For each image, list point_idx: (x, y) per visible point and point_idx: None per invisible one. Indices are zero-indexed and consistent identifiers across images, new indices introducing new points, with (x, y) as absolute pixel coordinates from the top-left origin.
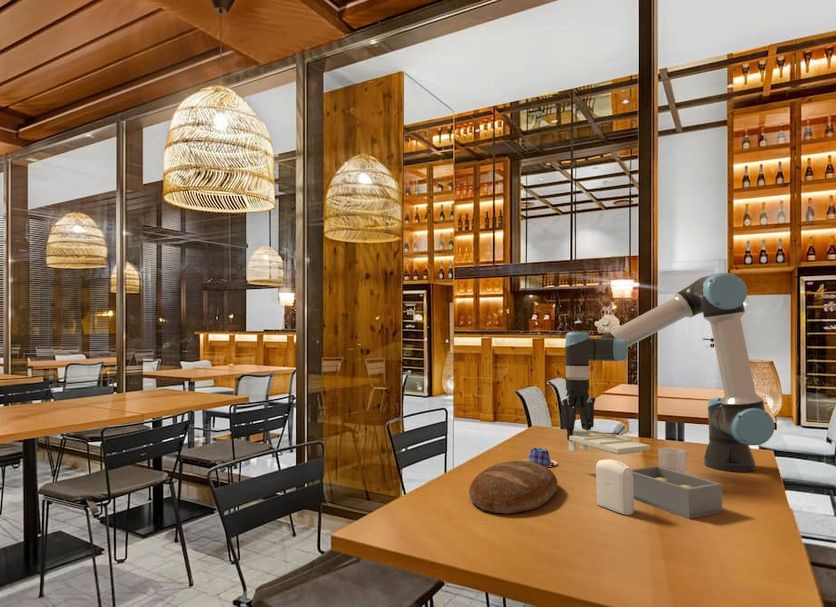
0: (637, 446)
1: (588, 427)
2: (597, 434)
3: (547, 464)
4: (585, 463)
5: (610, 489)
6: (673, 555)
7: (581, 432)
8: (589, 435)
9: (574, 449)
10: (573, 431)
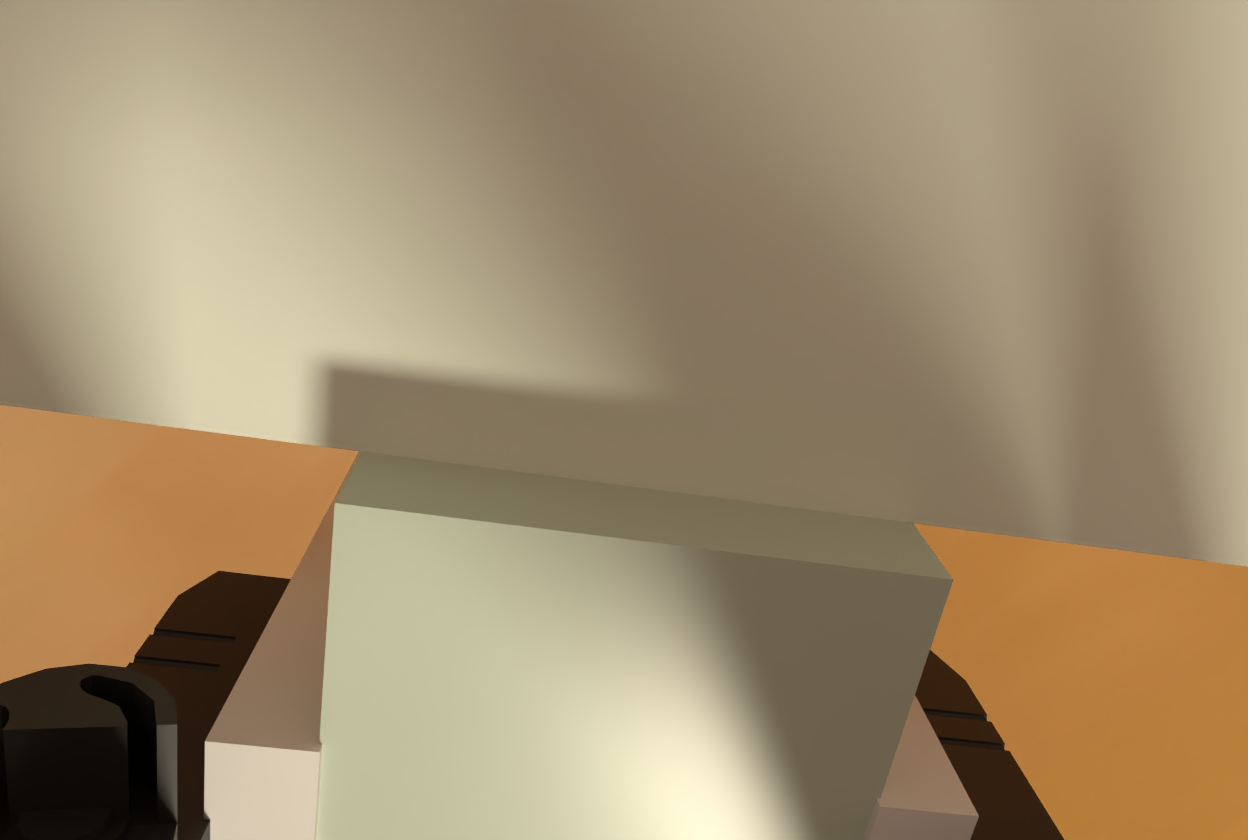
0: None
1: (42, 832)
2: (67, 160)
3: None
4: (122, 595)
5: None
6: None
7: (848, 558)
8: (650, 213)
9: None
10: (958, 837)
